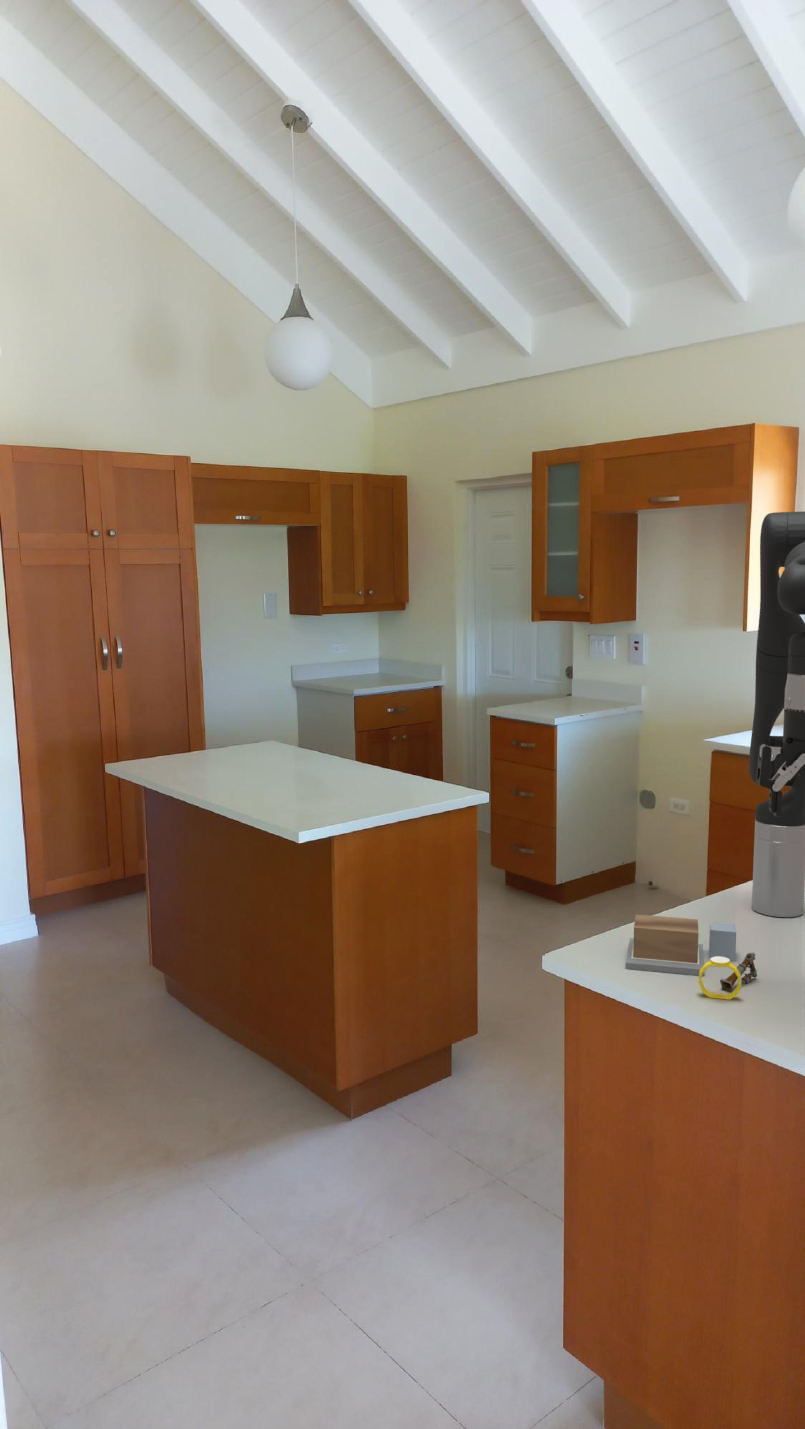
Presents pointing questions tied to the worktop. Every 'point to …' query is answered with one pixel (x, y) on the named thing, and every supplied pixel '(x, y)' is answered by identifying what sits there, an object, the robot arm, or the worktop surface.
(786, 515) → the robot arm
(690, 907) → the worktop surface
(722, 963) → the watch
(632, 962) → the build pad
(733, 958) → the gray block
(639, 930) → the walnut block
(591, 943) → the worktop surface
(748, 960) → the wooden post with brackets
